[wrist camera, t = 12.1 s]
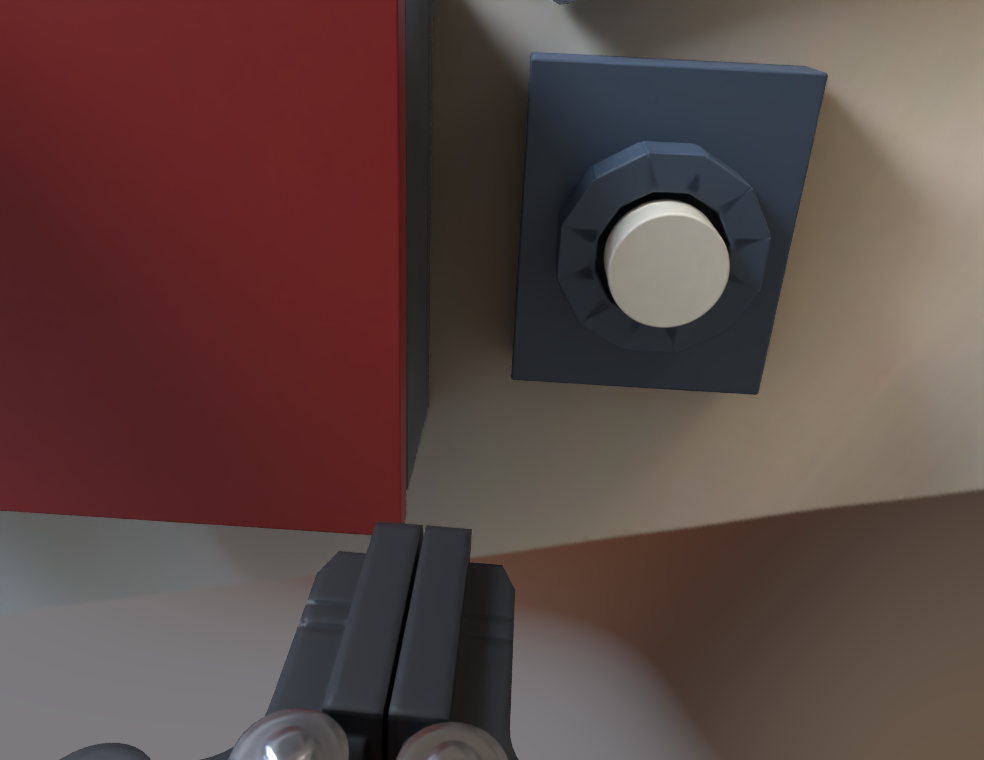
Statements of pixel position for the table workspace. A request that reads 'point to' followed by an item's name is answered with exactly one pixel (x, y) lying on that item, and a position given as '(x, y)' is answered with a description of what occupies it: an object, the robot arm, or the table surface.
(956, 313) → the table surface
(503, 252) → the table surface
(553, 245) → the control block
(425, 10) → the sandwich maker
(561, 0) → the calculator
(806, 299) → the table surface
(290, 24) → the lid
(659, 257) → the power button
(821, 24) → the table surface
